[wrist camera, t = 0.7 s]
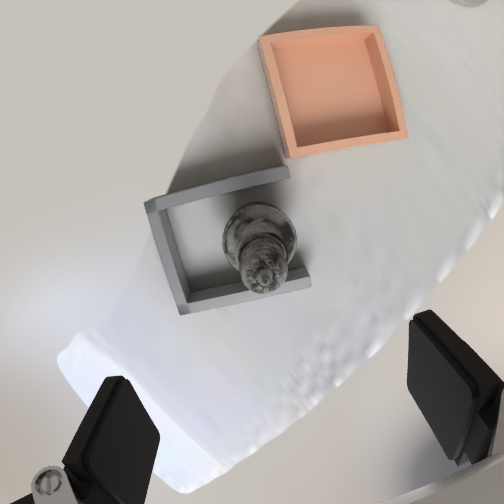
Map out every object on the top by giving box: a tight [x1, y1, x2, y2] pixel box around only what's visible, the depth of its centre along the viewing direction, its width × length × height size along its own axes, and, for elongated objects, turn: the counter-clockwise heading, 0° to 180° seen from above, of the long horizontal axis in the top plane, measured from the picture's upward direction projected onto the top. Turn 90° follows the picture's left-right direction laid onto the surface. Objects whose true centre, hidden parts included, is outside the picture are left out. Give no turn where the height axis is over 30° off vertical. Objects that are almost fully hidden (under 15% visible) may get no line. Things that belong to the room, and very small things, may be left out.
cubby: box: [144, 165, 312, 315], centre depth 28 cm, size 12×10×2 cm
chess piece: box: [222, 202, 297, 294], centre depth 23 cm, size 6×6×12 cm
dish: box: [258, 25, 408, 158], centre depth 24 cm, size 10×10×3 cm
